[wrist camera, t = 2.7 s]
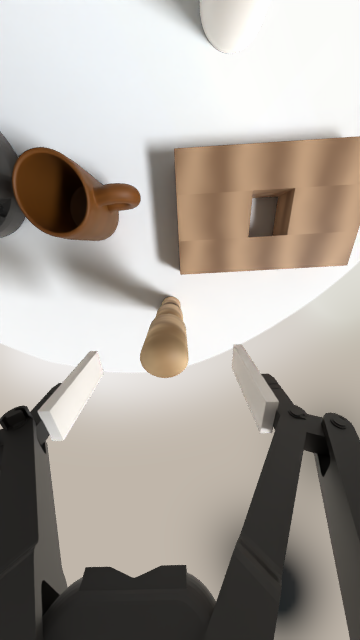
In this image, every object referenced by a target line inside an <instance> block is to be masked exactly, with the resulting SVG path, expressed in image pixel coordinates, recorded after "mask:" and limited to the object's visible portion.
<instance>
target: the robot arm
mask: <svg viewBox="0 0 360 640" xmlns="http://www.w3.org/2000/svg"><path fill="white" fill-rule="evenodd" d="M17 159H18V157H17V155H16V154H15V152H14V150H13V148H12V147H11V145H10V144H9V142H8V141H7V140H6V138H5V137H4V136H3V134H2V133H1V132H0V237H4V236H7V235H10V234H11V233H13V232H14V231H16V230H17V229H18V228H19V227H20V225H21V224H22V223H23V221H24V219H25V215H24V214H23V212H22V211H21V209H20V207H19V205H18V203H17V201H16V199H15V195H14V192H13V187H12V172H13V168H14V165H15V163H16V161H17ZM232 370H233V372H234V374H235V377H236V379H237V381H238V383H239V386H240V388H241V390H242V393H243V395H244V397H245V399H246V402H247V404H248V406H249V409H250V411H251V413H252V415H253V418H254V420H255V422H256V425H257V427H258V429H259V431H260V433H272V430H273V427H274V429H275V433H274V436H273V439H272V442H271V445H270V448H269V451H268V454H267V457H266V460H265V463H264V466H263V469H262V472H261V475H260V478H259V481H258V483H257V487H256V489H255V492H254V495H253V498H252V502H251V504H250V507H249V510H248V513H247V516H246V519H245V522H244V526H243V528H242V531H241V534H240V537H239V539H238V541H237V543H236V546H235V549H234V552H233V555H232V557H231V560H230V564H229V566H228V569H227V572H226V575H225V578H224V581H223V584H222V587H221V590H220V593H219V596H218V599H217V602H216V601H215V599H214V598H213V596H212V594H211V593H210V592H209V590H208V589H207V588H206V587H205V586H204V584H203V583H202V582H201V581H200V580H198V579H197V578H196V577H194V576H193V575H191V574H188V573H187V569H186V565H169V566H168V565H167V566H160V567H157V568H155V569H153V570H151V571H149V572H147V573H145V574H142V575H140V576H138V577H136V578H132V577H130V576H128V575H126V574H124V573H122V572H120V571H117V570H115V569H114V568H111V567H86V568H85V572H84V575H83V577H82V578H80V579H79V580H77V581H76V582H74V583H73V584H72V585H70V586H69V587H68V588H67V584H66V580H65V576H64V574H63V570H62V565H61V558H60V549H59V540H58V532H57V524H56V515H55V506H54V499H53V490H52V481H51V473H50V464H49V455H48V447H47V443H46V439H47V438H48V436H49V435H50V437H51V439H52V441H62V440H64V439H65V437H66V436H67V434H68V433H69V431H70V429H71V427H72V426H73V424H74V423H75V421H76V419H77V417H78V416H79V414H80V413H81V411H82V409H83V408H84V406H85V404H86V403H87V401H88V399H89V398H90V396H91V394H92V393H93V391H94V390H95V388H96V386H97V385H98V383H99V381H100V380H101V378H102V376H103V375H104V372H103V369H102V365H101V362H100V358H99V354H98V351H90V352H89V353H88V354H87V355H86V356H85V358H84V359H83V360H82V361H81V362H80V363H79V364H78V366H77V367H76V368H75V369H74V370H73V371H72V372H71V374H70V375H69V376H68V377H67V378H66V379H65V380H64V382H63V383H59V384H57V385H56V386H54V387H53V388H52V389H51V390H50V391H49V392H48V393H47V395H45V396H44V398H43V399H42V400H41V401H40V402H39V403H38V404H37V405H36V406H35V407H34V408H33V410H32V411H31V412H29V410H28V408H27V406H19V407H16V408H14V409H12V410H10V411H8V412H7V413H5V414H4V415H3V416H2V417H1V418H0V424H1V426H2V427H3V429H1V430H0V640H273V639H274V633H275V627H276V620H277V615H278V609H279V603H280V596H281V587H282V584H281V583H282V582H281V580H282V572H283V566H284V560H285V555H286V548H287V543H288V537H289V531H290V525H291V520H292V514H293V508H294V502H295V496H296V490H297V484H298V479H299V472H300V467H301V461H302V455H303V450H306V451H309V452H313V453H314V456H315V461H316V466H317V471H318V477H319V482H320V487H321V492H322V497H323V502H324V508H325V513H326V518H327V522H328V528H329V533H330V538H331V544H332V549H333V554H334V558H335V564H336V569H337V574H338V579H339V584H340V590H341V595H342V600H343V605H344V610H345V615H346V620H347V625H348V630H349V636H350V640H360V440H359V437H358V435H357V433H356V431H355V429H354V427H353V425H352V424H351V423H350V422H349V421H348V420H347V419H346V418H344V417H342V416H340V415H338V414H335V413H326V414H325V415H324V417H323V418H322V417H318V416H313V415H309V414H307V413H306V412H305V411H304V410H303V409H302V408H300V407H298V406H296V405H294V404H293V403H292V401H291V400H290V399H289V397H288V396H287V395H286V393H285V392H284V391H283V389H281V386H280V385H279V384H278V383H277V381H276V380H275V378H274V377H272V376H271V375H269V374H261V373H260V372H259V370H258V369H257V367H256V366H255V364H254V362H253V361H252V359H251V358H250V356H249V355H248V353H247V352H246V350H245V349H244V347H243V346H242V344H239V345H234V347H233V360H232Z"/></svg>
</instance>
